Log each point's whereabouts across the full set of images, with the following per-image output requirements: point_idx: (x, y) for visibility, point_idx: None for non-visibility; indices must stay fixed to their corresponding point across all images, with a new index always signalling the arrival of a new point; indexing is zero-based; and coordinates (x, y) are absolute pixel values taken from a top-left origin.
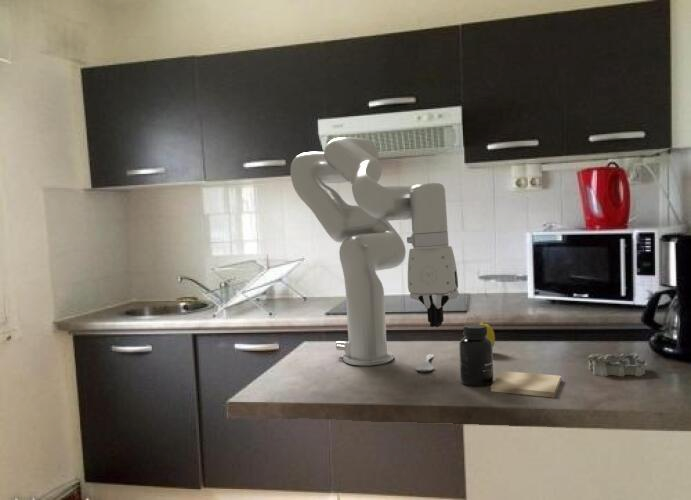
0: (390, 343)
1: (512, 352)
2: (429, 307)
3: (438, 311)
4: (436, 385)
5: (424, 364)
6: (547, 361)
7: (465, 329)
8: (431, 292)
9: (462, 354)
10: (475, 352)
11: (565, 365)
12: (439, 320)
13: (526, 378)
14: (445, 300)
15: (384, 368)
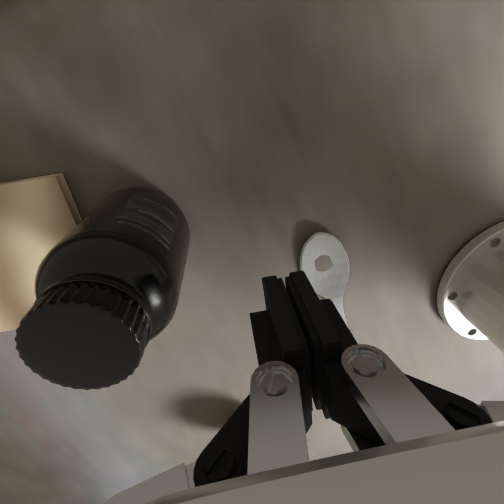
0: (476, 399)
1: (190, 444)
2: (344, 354)
3: (273, 354)
4: (233, 152)
5: (335, 287)
6: (89, 425)
7: (109, 303)
8: (358, 476)
9: (144, 227)
10: (77, 230)
11: (39, 418)
12: (260, 313)
13: (18, 284)
14: (217, 445)
15: (436, 230)
